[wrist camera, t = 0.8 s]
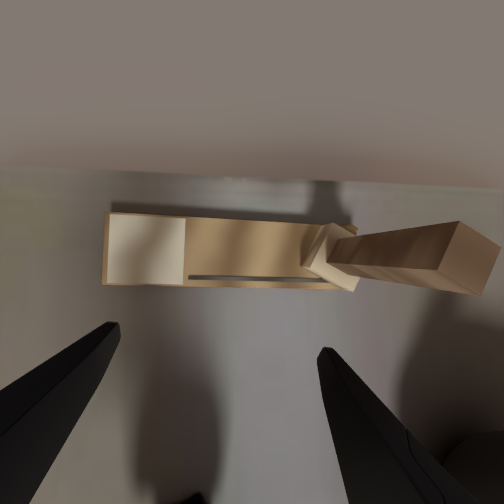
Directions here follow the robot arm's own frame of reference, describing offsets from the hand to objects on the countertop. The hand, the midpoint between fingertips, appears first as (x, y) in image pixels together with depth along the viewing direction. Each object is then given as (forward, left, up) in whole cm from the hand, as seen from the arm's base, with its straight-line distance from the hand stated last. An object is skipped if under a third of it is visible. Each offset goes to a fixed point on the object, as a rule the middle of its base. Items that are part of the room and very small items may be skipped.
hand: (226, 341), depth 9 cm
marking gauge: (-2, -12, -12) cm, 17 cm away
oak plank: (+3, -3, -13) cm, 14 cm away
